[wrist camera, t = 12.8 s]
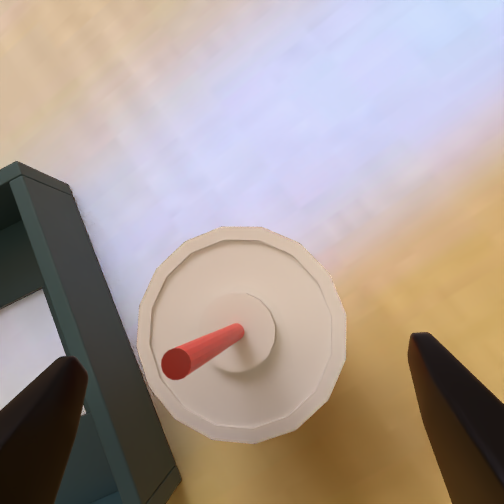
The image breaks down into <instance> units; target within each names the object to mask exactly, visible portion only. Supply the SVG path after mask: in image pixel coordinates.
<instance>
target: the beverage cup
mask: <svg viewBox="0 0 504 504" xmlns="http://www.w3.org/2000/svg"><path fill="white" fill-rule="evenodd" d="M137 350H138V353H139V356H140V359H141V363H142V366H143V369H144V372H145V376H146V379H147V382H148V385H149V387H150V388H151V390H152V391H153V392H154V394H155V395H156V396H157V397H158V399H159V400H160V401H161V402H162V404H163V405H164V406H165V407H166V409H167V410H168V411H169V412H170V414H171V415H172V416H173V417H174V419H175V420H177V421H179V422H181V423H183V424H184V425H186V426H188V427H190V428H192V429H193V430H195V431H197V432H199V433H201V434H202V435H204V436H206V437H208V438H210V439H211V440H218V441H228V442H239V443H249V444H256V443H259V442H262V441H265V440H268V439H271V438H274V437H277V436H280V435H283V434H286V433H289V432H292V431H295V430H297V429H298V428H299V427H300V426H301V425H302V424H303V423H304V422H305V421H306V420H307V419H308V418H310V417H311V416H312V415H313V414H314V413H315V412H316V411H317V410H318V409H319V408H320V407H321V406H322V405H324V404H325V403H326V402H327V401H328V399H329V397H330V395H331V393H332V390H333V388H334V386H335V383H336V381H337V379H338V376H339V374H340V372H341V369H342V367H343V365H344V363H345V360H346V312H345V310H344V308H343V305H342V303H341V300H340V298H339V295H338V293H337V290H336V288H335V285H334V283H333V280H332V278H331V276H330V273H329V272H328V271H327V270H326V269H325V268H324V267H323V266H322V265H321V264H320V263H319V262H318V261H317V260H316V259H315V258H314V257H313V256H312V255H311V254H310V253H309V252H308V251H307V250H306V249H305V248H304V247H303V246H302V245H301V244H300V243H298V242H296V241H294V240H291V239H289V238H287V237H284V236H282V235H280V234H277V233H275V232H272V231H270V230H268V229H265V228H263V227H220V228H217V229H215V230H212V231H210V232H207V233H205V234H202V235H200V236H197V237H195V238H192V239H190V240H187V241H185V242H184V243H183V244H182V245H181V246H180V247H179V248H178V249H177V250H175V251H174V252H173V253H172V254H171V255H170V256H169V257H168V258H167V259H166V260H165V261H164V262H163V263H162V264H161V265H160V266H159V267H158V268H157V269H156V271H155V273H154V275H153V277H152V279H151V281H150V284H149V286H148V288H147V290H146V292H145V294H144V297H143V299H142V301H141V303H140V305H139V318H138V333H137Z"/></svg>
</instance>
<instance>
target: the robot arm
mask: <svg viewBox="0 0 504 504" xmlns="http://www.w3.org/2000/svg"><path fill="white" fill-rule="evenodd" d="M408 363H409V367H410V371H411V375H412V379H413V384H414V388H415V392H416V396H417V400H418V404H419V408H420V413H421V416H422V420H423V423H424V426H425V430H426V432H427V435H428V438H429V441H430V443H431V446H432V449H433V452H434V454H435V457H436V460H437V463H438V465H439V468H440V471H441V474H442V476H443V479H444V482H445V485H446V487H447V490H448V493H449V496H450V498H451V501H452V504H504V404H503V403H502V402H501V401H500V400H499V399H498V398H497V397H496V396H495V395H494V394H493V393H492V392H490V391H489V390H488V389H487V388H486V387H485V386H484V385H483V384H482V383H481V382H480V381H479V380H478V379H477V378H476V377H475V376H474V375H473V374H472V373H471V372H470V371H469V370H468V369H467V368H466V367H465V366H463V365H462V364H461V363H460V362H459V361H458V360H457V359H456V358H455V357H454V356H453V355H452V354H451V353H450V352H449V351H448V350H447V349H446V348H445V347H444V346H443V345H442V344H441V343H440V342H439V341H438V340H437V339H435V338H434V337H433V336H432V335H431V334H430V333H428V332H420V333H412V334H411V336H410V341H409V347H408ZM87 385H88V373H87V371H86V369H85V368H84V367H83V365H82V364H81V363H80V361H79V360H78V358H77V357H75V356H63V357H59V358H58V359H57V360H55V361H54V362H53V363H52V364H51V365H50V366H49V367H48V368H47V369H46V370H44V371H43V372H42V373H41V374H40V375H39V376H38V377H37V378H36V379H35V380H33V381H32V382H31V383H30V384H29V385H28V386H27V387H26V388H25V389H24V390H22V391H21V392H20V393H19V394H18V395H17V396H16V397H15V398H14V399H13V400H12V401H10V402H9V403H8V404H7V405H6V406H5V407H4V408H3V409H2V410H1V411H0V504H54V503H55V500H56V496H57V493H58V490H59V487H60V484H61V481H62V478H63V475H64V472H65V469H66V466H67V462H68V459H69V456H70V453H71V450H72V447H73V444H74V441H75V437H76V434H77V430H78V426H79V421H80V417H81V412H82V408H83V403H84V398H85V394H86V389H87Z"/></svg>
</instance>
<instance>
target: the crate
mask: <svg viewBox="0 0 504 504" xmlns="http://www.w3.org/2000/svg"><path fill="white" fill-rule="evenodd" d="M42 288H43V291H44V294H45V297H46V300H47V303H48V305H49V308H50V311H51V314H52V317H53V320H54V322H55V325H56V328H57V331H58V334H59V337H60V339H61V342H62V345H63V348H64V351H65V354H66V356H75V357H77V358H78V360H79V361H80V363H81V364H82V365H83V367H84V368H85V369H86V371H87V373H88V385H87V389H86V394H85V398H84V403H83V405H84V407H85V410H86V413H87V414H84V415H82V416H81V417H80V421H79V426H78V430H77V434H76V437H75V441H74V444H73V447H72V450H71V453H70V456H69V459H68V462H67V466H66V469H65V472H64V475H63V478H62V481H61V484H60V487H59V490H58V493H57V496H56V500H55V503H54V504H166V502H167V501H168V499H169V498H170V496H171V495H172V493H173V492H174V490H175V489H176V487H177V486H178V484H179V483H180V481H181V480H182V479H181V476H180V473H179V471H178V468H177V466H176V465H175V461H174V458H173V456H172V453H171V451H170V448H169V445H168V443H167V440H166V438H165V435H164V432H163V430H162V427H161V425H160V422H159V419H158V417H157V414H156V412H155V409H154V406H153V404H152V401H151V399H150V396H149V393H148V391H147V388H146V386H145V383H144V380H143V378H142V375H141V373H140V370H139V368H138V365H137V362H136V360H135V357H134V355H133V352H132V349H131V347H130V344H129V342H128V339H127V336H126V334H125V331H124V329H123V326H122V323H121V321H120V318H119V316H118V313H117V310H116V308H115V305H114V303H113V300H112V297H111V295H110V292H109V290H108V287H107V284H106V282H105V279H104V277H103V274H102V271H101V269H100V266H99V264H98V261H97V258H96V256H95V253H94V251H93V248H92V245H91V243H90V240H89V238H88V235H87V232H86V230H85V227H84V225H83V222H82V219H81V217H80V214H79V212H78V209H77V206H76V204H75V201H74V199H73V197H72V193H71V190H70V188H69V185H68V184H66V183H64V182H62V181H59V180H57V179H55V178H53V177H51V176H49V175H46V174H44V173H42V172H40V171H38V170H35V169H33V168H31V167H29V166H27V165H25V164H22V163H20V162H18V161H15V162H14V163H12V164H10V165H8V166H6V167H4V168H2V169H0V309H2V308H4V307H6V306H8V305H10V304H12V303H14V302H16V301H18V300H20V299H22V298H24V297H26V296H28V295H30V294H32V293H34V292H36V291H38V290H40V289H42Z"/></svg>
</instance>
